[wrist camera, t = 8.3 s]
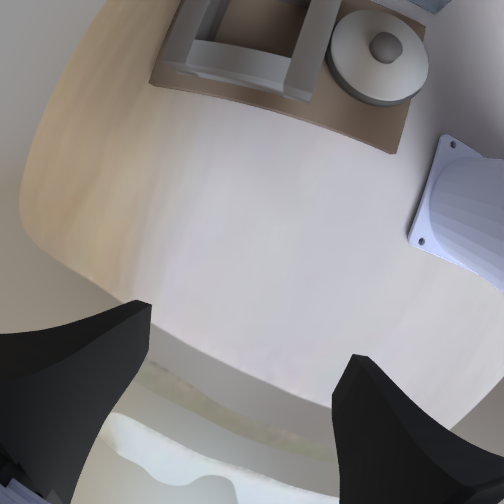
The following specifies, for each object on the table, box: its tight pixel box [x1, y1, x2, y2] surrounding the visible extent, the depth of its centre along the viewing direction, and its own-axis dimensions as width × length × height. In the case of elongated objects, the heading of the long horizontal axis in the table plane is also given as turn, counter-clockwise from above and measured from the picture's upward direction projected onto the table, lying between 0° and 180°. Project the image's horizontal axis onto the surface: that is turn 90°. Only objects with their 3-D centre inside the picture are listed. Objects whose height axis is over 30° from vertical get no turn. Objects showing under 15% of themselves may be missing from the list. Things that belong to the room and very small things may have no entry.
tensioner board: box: [149, 0, 429, 154], centre depth 13 cm, size 16×10×4 cm, turn 74°
